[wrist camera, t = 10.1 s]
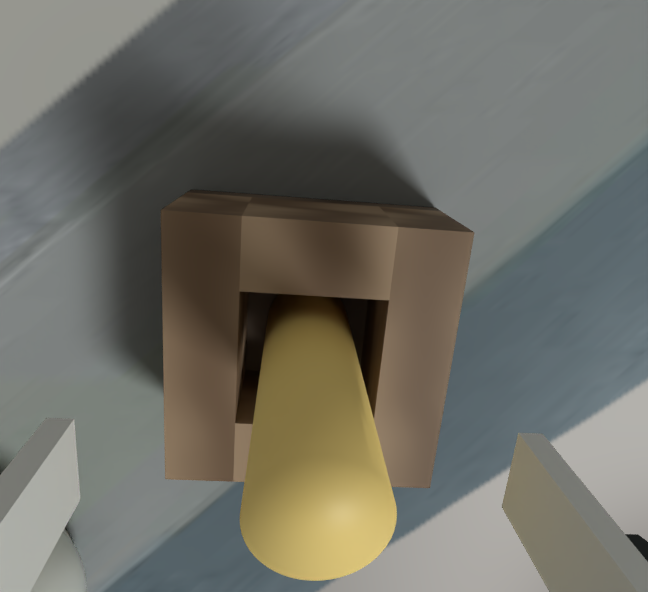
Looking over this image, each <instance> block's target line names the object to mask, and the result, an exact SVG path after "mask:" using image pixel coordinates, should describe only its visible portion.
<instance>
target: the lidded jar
mask: <svg viewBox="0 0 648 592" xmlns="http://www.w3.org/2000/svg"><path fill="white" fill-rule="evenodd" d="M31 592H87V586H86V574H85V570H84V566H83V563H82V560H81V557H80V555H79V553H78V551H77V549H76V547H75V545H74V544H73V542H72V539H71V537H70V535H69V533H68V532H67V530H66V529H64V530H63V532H62V534H61V536H60V538H59V540H58V542H57V543H56V545H55V547H54V549H53V551H52V553H51V555H50V556H49V558H48V560H47V562H46V564H45V566H44V567H43V569H42V571H41V573H40V575H39V577H38V579H37V580H36V582H35V584H34V586H33V588H32V590H31Z"/></svg>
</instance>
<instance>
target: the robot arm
mask: <svg viewBox="0 0 648 592" xmlns="http://www.w3.org/2000/svg"><path fill="white" fill-rule="evenodd" d="M79 501H80V489H79V476H78V463H77V450H76V437H75V424H74V419H62V418H46V419H45V420H44V421H43V422H42V424H41V425H40V426H39V427H38V429H37V430H36V431H35V432H34V433H33V435H32V436H31V437H30V438H29V440H28V441H27V442H26V443H25V445H24V446H23V447H22V448H21V450H20V451H19V452H18V453H17V455H16V456H15V457H14V458H13V460H12V461H11V462H10V463H9V465H8V466H7V467H6V468H5V470H4V471H3V472H2V473H1V475H0V592H31V590H32V588H33V586H34V584H35V582H36V580H37V579H38V577H39V575H40V573H41V571H42V569H43V567H44V566H45V564H46V562H47V560H48V558H49V556H50V555H51V553H52V551H53V549H54V547H55V545H56V543H57V542H58V540H59V538H60V536H61V534H62V532H63V530H64V529H65V527H66V525H67V523H68V521H69V519H70V517H71V516H72V514H73V512H74V510H75V508H76V506H77V505H78V503H79ZM502 508H503V510H504V512H505V513H506V515H507V517H508V519H509V521H510V522H511V524H512V526H513V528H514V529H515V531H516V533H517V535H518V537H519V538H520V540H521V542H522V544H523V546H524V547H525V549H526V551H527V553H528V554H529V556H530V558H531V560H532V562H533V563H534V565H535V567H536V569H537V570H538V572H539V574H540V576H541V578H542V579H543V581H544V583H545V585H546V586H547V588H548V590H549V592H648V542H647V541H646V540H645V539H643V538H642V537H641V536H639V535H631V534H629V535H628V534H624V532H623V531H622V530H621V529H620V527H619V526H618V525H617V524H616V523H615V521H614V520H613V519H612V518H611V517H610V515H609V514H608V513H607V512H606V511H605V509H604V508H603V507H602V506H601V504H600V503H599V502H598V501H597V500H596V498H595V497H594V496H593V495H592V494H591V492H590V491H589V490H588V489H587V487H586V486H585V485H584V484H583V482H582V481H581V480H580V479H579V478H578V477H577V476H576V474H575V473H574V472H573V470H572V469H571V468H570V467H569V466H568V464H567V463H566V462H565V461H564V460H563V458H562V457H561V456H560V455H559V453H558V452H557V451H556V450H555V448H554V447H553V446H552V445H551V444H550V442H549V441H548V440H547V439H546V437H545V436H544V435H543V434H535V433H518V438H517V442H516V447H515V451H514V455H513V460H512V464H511V469H510V473H509V477H508V482H507V486H506V491H505V495H504V499H503V504H502Z"/></svg>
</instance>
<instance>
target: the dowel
mask: <svg viewBox="0 0 648 592" xmlns="http://www.w3.org/2000/svg"><path fill="white" fill-rule="evenodd" d="M396 518H397V510H396V503H395V499H394V495H393V492H392V488H391V484H390V480H389V476H388V472H387V468H386V465H385V461H384V457H383V453H382V449H381V445H380V441H379V438H378V434H377V430H376V426H375V422H374V418H373V415H372V411H371V407H370V403H369V399H368V395H367V391H366V388H365V384H364V380H363V376H362V372H361V368H360V364H359V361H358V357H357V353H356V349H355V345H354V341H353V338H352V334H351V330H350V326H349V322H348V318H347V314H346V311H345V307H344V305H343V303H342V301H341V299H340V298H339V297H324V296H307V295H291V294H279V295H277V297H276V298H275V299H274V301H273V302H272V304H271V306H270V309H269V313H268V319H267V326H266V334H265V341H264V348H263V355H262V362H261V369H260V376H259V383H258V390H257V397H256V405H255V412H254V419H253V426H252V433H251V440H250V447H249V454H248V461H247V468H246V476H245V483H244V490H243V497H242V504H241V511H240V528H241V532H242V536H243V538H244V541H245V543H246V545H247V547H248V548H249V550H250V551H251V552H252V554H253V555H254V556H255V557H256V558H257V559H258V560H259V561H260V562H261V563H263V564H264V565H265V566H267V567H268V568H270V569H272V570H273V571H275V572H277V573H280V574H282V575H285V576H288V577H291V578H295V579H301V580H312V581H317V580H329V579H335V578H339V577H343V576H346V575H349V574H351V573H354V572H356V571H358V570H360V569H361V568H363V567H365V566H366V565H368V564H369V563H371V562H372V561H373V560H374V559H376V557H377V556H378V555H379V554H380V553H381V552H382V551H383V550H384V549H385V547H386V546H387V544H388V543H389V541H390V539H391V537H392V535H393V532H394V529H395V525H396Z"/></svg>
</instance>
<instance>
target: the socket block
mask: <svg viewBox="0 0 648 592" xmlns="http://www.w3.org/2000/svg"><path fill="white" fill-rule="evenodd" d="M473 237H474V232H473V231H471V230H470V229H468V228H466V227H465V226H463V225H462V224H460V223H459V222H457V221H455V220H454V219H452V218H451V217H449V216H448V215H446V214H444V213H443V212H441V211H440V210H438V209H437V208H432V207H419V206H405V205H392V204H378V203H365V202H352V201H338V200H325V199H311V198H298V197H285V196H271V195H258V194H244V193H231V192H217V191H204V190H190V191H188V192H187V193H185V194H184V195H182V196H181V197H179V198H178V199H176V200H175V201H173V202H172V203H170V204H169V205H167V206H166V207H165V208H163V209H162V210H161V258H162V317H163V375H164V433H165V479H175V480H205V481H235V482H245V476H246V468H247V461H248V454H249V447H250V440H251V433H252V426H253V419H254V412H255V405H256V397H257V390H258V383H259V376H260V369H261V362H262V355H263V348H264V341H265V334H266V326H267V319H268V313H269V309H270V306H271V304H272V302H273V301H274V299H275V298H276V297H277V295H279V294H291V295H307V296H324V297H339V298H340V299H341V301H342V303H343V305H344V307H345V311H346V314H347V318H348V322H349V326H350V330H351V334H352V338H353V341H354V345H355V349H356V353H357V357H358V361H359V364H360V368H361V372H362V376H363V380H364V384H365V388H366V391H367V395H368V399H369V403H370V407H371V411H372V415H373V418H374V422H375V426H376V430H377V434H378V438H379V441H380V445H381V449H382V453H383V457H384V461H385V465H386V468H387V472H388V476H389V480H390V484H391V487H413V488H430V484H431V478H432V472H433V467H434V461H435V455H436V450H437V444H438V438H439V432H440V427H441V421H442V415H443V409H444V404H445V398H446V392H447V386H448V381H449V375H450V369H451V364H452V358H453V352H454V346H455V341H456V335H457V329H458V323H459V318H460V312H461V306H462V300H463V295H464V289H465V283H466V277H467V272H468V266H469V260H470V255H471V249H472V243H473Z"/></svg>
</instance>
